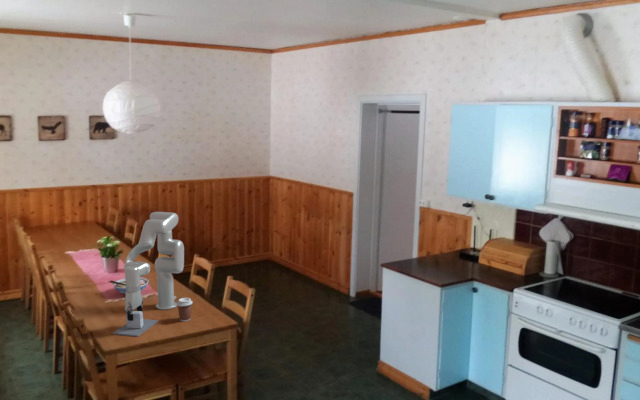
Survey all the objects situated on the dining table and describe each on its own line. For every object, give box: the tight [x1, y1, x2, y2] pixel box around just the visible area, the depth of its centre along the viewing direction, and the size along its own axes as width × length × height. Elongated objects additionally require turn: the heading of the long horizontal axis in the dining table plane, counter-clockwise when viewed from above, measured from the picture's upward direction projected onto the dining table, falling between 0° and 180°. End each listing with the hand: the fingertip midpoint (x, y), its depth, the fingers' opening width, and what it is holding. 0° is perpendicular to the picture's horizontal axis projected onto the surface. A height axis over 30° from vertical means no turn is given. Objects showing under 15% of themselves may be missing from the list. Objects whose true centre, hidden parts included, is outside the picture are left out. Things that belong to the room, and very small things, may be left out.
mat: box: [112, 318, 159, 337], centre depth 318 cm, size 22×15×1 cm
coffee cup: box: [176, 297, 193, 322], centre depth 330 cm, size 9×9×12 cm
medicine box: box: [125, 310, 144, 328], centre depth 317 cm, size 8×4×9 cm, turn 87°
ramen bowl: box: [108, 277, 150, 295], centre depth 377 cm, size 25×23×8 cm
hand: (135, 317), depth 317 cm, fingers open, 9 cm apart
